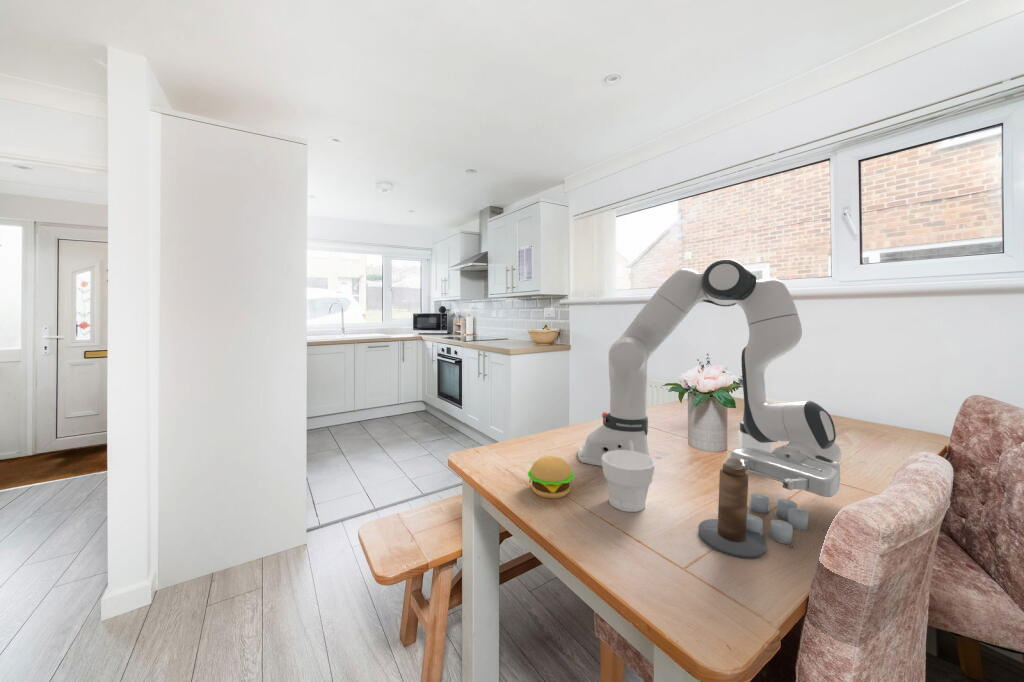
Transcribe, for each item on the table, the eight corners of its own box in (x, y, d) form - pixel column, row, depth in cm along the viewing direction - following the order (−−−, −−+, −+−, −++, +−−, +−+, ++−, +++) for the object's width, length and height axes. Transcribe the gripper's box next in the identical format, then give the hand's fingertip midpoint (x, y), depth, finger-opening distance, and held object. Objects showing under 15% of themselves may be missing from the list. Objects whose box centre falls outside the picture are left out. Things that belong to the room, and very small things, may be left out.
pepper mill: (721, 540, 75) (724, 461, 74) (714, 526, 80) (717, 452, 79) (749, 543, 74) (753, 463, 72) (741, 529, 78) (744, 454, 77)
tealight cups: (741, 537, 77) (741, 523, 77) (720, 501, 92) (720, 489, 92) (828, 549, 73) (828, 534, 73) (791, 509, 88) (792, 497, 88)
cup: (650, 494, 96) (651, 451, 95) (658, 520, 84) (659, 471, 83) (600, 489, 99) (601, 448, 98) (600, 513, 87) (601, 466, 86)
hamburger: (583, 490, 98) (583, 458, 98) (554, 507, 90) (554, 472, 89) (548, 476, 107) (548, 446, 106) (518, 490, 98) (518, 458, 98)
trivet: (705, 552, 73) (705, 547, 72) (693, 519, 84) (693, 515, 84) (777, 563, 69) (777, 558, 69) (753, 527, 81) (753, 523, 81)
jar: (752, 468, 112) (754, 428, 111) (731, 458, 120) (732, 421, 119) (777, 465, 114) (779, 426, 113) (754, 455, 122) (756, 419, 121)
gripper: (748, 438, 97) (716, 448, 90) (849, 465, 79) (818, 480, 72) (747, 462, 97) (715, 473, 91) (847, 494, 80) (817, 512, 73)
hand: (761, 476), depth 81 cm, fingers open, 8 cm apart
